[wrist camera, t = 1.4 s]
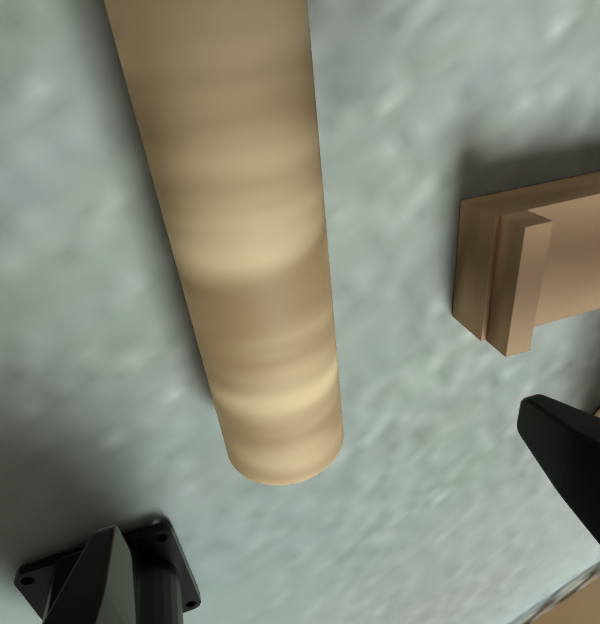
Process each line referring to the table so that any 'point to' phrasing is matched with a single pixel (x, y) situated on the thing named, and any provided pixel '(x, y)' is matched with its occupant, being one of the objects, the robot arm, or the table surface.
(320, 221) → the rod
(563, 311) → the block
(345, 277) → the table surface
